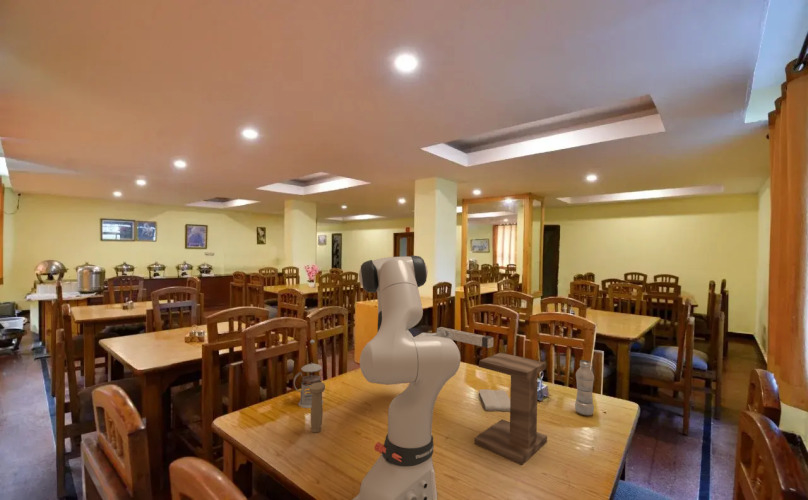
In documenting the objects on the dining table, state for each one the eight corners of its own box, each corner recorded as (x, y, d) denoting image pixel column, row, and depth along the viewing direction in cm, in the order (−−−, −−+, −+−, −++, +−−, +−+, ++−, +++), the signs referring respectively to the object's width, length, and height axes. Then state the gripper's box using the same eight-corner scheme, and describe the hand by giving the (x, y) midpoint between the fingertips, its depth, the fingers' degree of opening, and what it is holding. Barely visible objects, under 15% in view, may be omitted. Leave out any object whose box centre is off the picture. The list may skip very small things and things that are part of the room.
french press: (325, 406, 139) (326, 341, 139) (294, 410, 135) (295, 344, 135) (321, 396, 148) (322, 336, 148) (292, 400, 144) (293, 338, 144)
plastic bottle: (574, 415, 135) (575, 362, 135) (575, 408, 141) (576, 358, 141) (593, 419, 132) (594, 365, 132) (593, 412, 138) (594, 360, 138)
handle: (306, 435, 117) (307, 389, 117) (312, 425, 123) (313, 382, 123) (320, 436, 116) (321, 389, 116) (326, 426, 123) (327, 382, 123)
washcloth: (504, 395, 155) (504, 388, 155) (516, 413, 137) (516, 405, 137) (477, 394, 155) (477, 387, 155) (485, 412, 137) (485, 404, 137)
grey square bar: (488, 348, 119) (488, 338, 119) (436, 336, 134) (436, 327, 134) (493, 346, 121) (493, 337, 121) (441, 334, 136) (441, 326, 136)
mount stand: (522, 465, 102) (523, 374, 103) (474, 443, 113) (475, 361, 114) (547, 441, 115) (548, 361, 116) (501, 424, 126) (503, 351, 127)
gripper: (403, 341, 134) (428, 328, 125) (437, 333, 149) (461, 321, 140) (409, 358, 132) (435, 345, 123) (442, 347, 146) (468, 336, 138)
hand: (449, 332), depth 132 cm, fingers closed on grey square bar, 3 cm apart
